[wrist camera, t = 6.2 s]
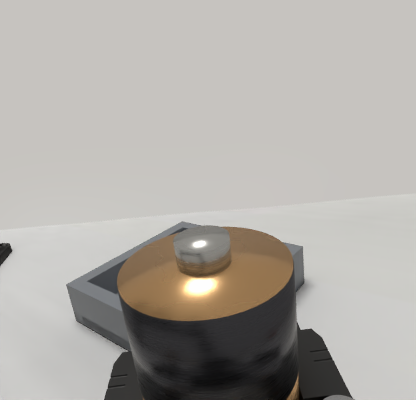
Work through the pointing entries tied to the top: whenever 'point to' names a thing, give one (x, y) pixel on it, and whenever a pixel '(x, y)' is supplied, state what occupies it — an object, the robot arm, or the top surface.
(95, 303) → the tray
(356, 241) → the top surface
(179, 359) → the battery cell
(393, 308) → the top surface
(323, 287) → the top surface
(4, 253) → the phone
